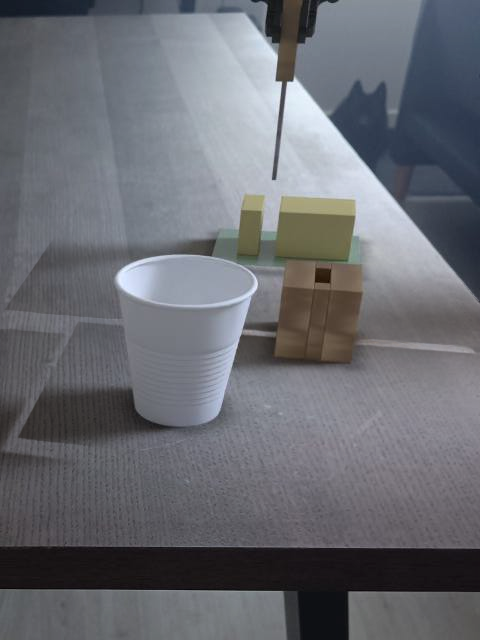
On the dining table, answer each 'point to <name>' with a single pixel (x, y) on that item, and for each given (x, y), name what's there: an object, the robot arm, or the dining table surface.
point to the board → (266, 250)
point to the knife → (286, 63)
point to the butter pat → (251, 224)
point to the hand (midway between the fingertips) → (289, 37)
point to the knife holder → (319, 311)
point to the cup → (182, 333)
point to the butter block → (315, 228)
